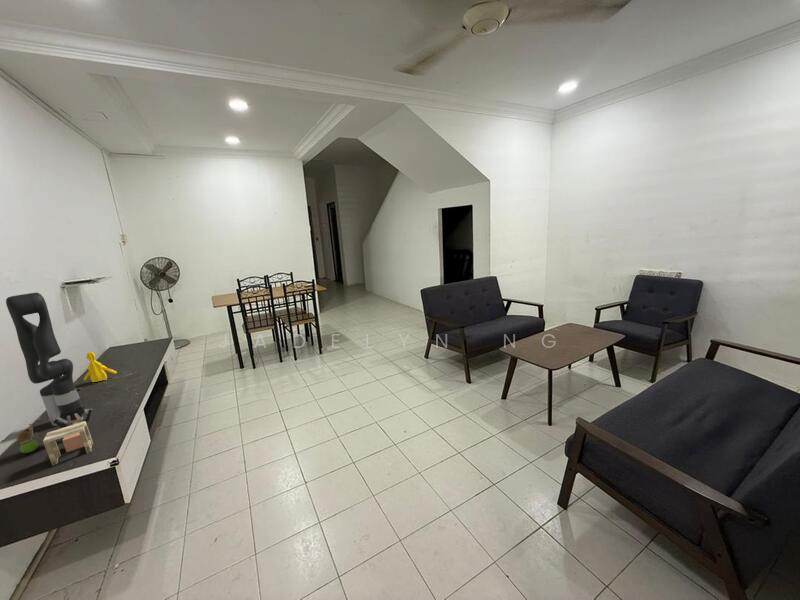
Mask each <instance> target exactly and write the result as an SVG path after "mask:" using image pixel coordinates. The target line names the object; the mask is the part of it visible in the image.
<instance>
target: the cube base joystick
mask: <svg viewBox="0 0 800 600" xmlns="http://www.w3.org/2000/svg"><path fill="white" fill-rule="evenodd" d="M77 423H80V422H79V421H78V420H77V419H76V420H73V421H72V425H74V424H77ZM62 443H63V446H64V449H65V452H66V453H68V452H69V453H70V452H71V451H74V450H77V449H81V448H83V447H85V446H84V444H83V441H82V438H81V435H80V433H79V432H78V433H75V434H72V435H69V436H66V437H63V439H62Z"/></svg>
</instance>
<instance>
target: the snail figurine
mask: <svg viewBox="0 0 800 600" xmlns="http://www.w3.org/2000/svg"><path fill="white" fill-rule="evenodd" d="M28 426H29V427H28V431H27V430H25V431H22V432H20V433H19V434H18V436H17V441H18V442H19V444H20V446H19V451H20V452H21V453H23V454H29V453H33V452H34V451H36V450H37V448H38V447H39V443H38V441H37V440H35V439H32V438H33V437H34V427H33V423H29V424H28Z"/></svg>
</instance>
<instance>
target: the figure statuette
mask: <svg viewBox="0 0 800 600" xmlns="http://www.w3.org/2000/svg"><path fill="white" fill-rule="evenodd" d="M96 357H97V355H96V354H95V353H94V351H88V352H87V353H86V359H87V360H88V361H89V362H90V363H89V365H88V366H87V369H88V372H87V373H86V374H85V375H84V378H83V381H86V380H87V379H89V377H90V381H91V382H92V383H93V382H97V381H102V380H106V381H107V380H108V379H107V378H108V375H107V372H109V373H111V374H114V375H116V374H117V373H118V371H116V370H114V369H112V368H108V367H107V366H105V365H103V364H102V363H101V362H99V361H98V360H96Z"/></svg>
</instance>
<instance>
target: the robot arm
mask: <svg viewBox="0 0 800 600" xmlns="http://www.w3.org/2000/svg"><path fill="white" fill-rule="evenodd" d="M5 304H6V308H7V310H8V312H9V315H10V317H11V319H12V322H13V324H14V327H15V332H16V335H17V339H18V343H19V346H20V349H21V352H22V355H23V356H24V359H25V366H26V372H27V376H28V378H29V381H30V382H31V383H32V384H41V383H46V382H48V381H51V380H52V381H51V382H50V383H48V384H47V385H46V386H44V387H42V388H41V389H40V390H39V394H40V397H41V400H42V403H43V405H44V408H45V410H46V413H47V416H48V417H49V421H50V423H51V426H53V427H57V426H58V427H59V428H60V429H61V428H64V427H67V426H71V425H72V422H73V421H75V420H78V421H79V422H83V421H86V423H87V422H89V421H90V419H91V415H92V412H93V407H90V408H85V407H84V406H83V404H82V402H81V401H82V400H81V398H80V395H79V393H78V391H77V389H76V386H75V382H74V380H73V375H74V374H73V372H74V364H73V362H72V360H70V359H68V358H61V359H58V360H51V361H49V360H50V359H52V358H54V357H56V356H58V355H60V354H61V352H62V351H61V348H60V345H59V343H58V341H57V339H56V337H55V333H54V329H53V328H54V327H53V323H52V321H51V317H50V313H49V310H48V305H47V303H46V299H45V298H44V296H43V294H41V293H39V292H30V293H25V294H18V295H16V294H15V295H11V296H8V297H7V298H6V300H5ZM33 314H37V315H38V317H39V320H38V321H39V322H38V325H35V324H34V323H32V322H30V321H28V320H27V319H26V318H25V317H24V316H27V315H33ZM83 414H86V417H85V419H84V416H83Z"/></svg>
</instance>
